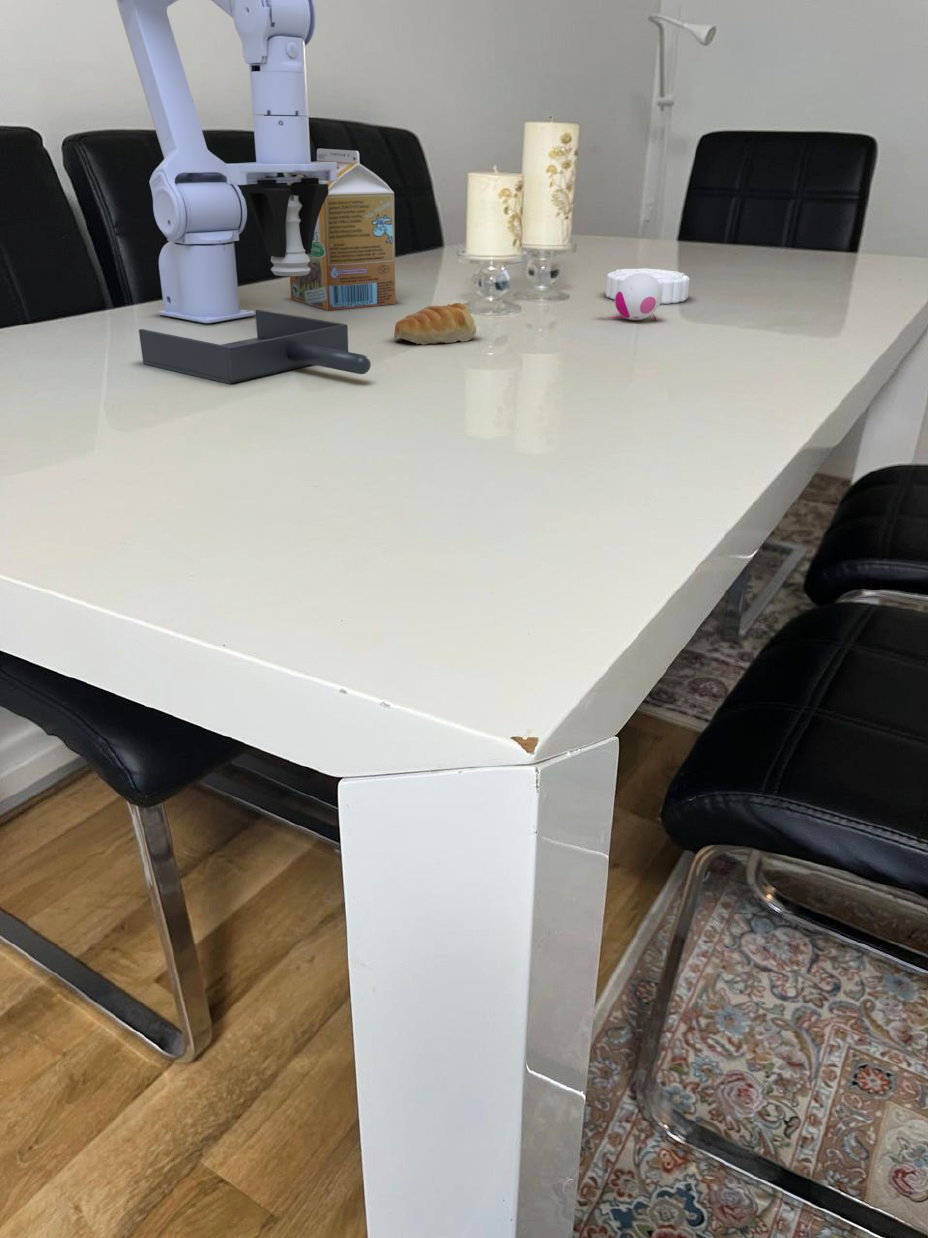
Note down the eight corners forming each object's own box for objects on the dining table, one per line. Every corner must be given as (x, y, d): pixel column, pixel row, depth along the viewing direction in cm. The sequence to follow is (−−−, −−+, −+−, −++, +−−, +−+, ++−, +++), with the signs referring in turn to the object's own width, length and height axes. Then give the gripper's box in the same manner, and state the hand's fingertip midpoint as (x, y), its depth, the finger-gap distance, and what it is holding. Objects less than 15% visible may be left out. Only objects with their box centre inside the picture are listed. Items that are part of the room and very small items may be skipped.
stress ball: (617, 339, 130) (592, 296, 128) (669, 305, 128) (645, 261, 126) (621, 348, 123) (595, 303, 121) (677, 313, 121) (651, 266, 119)
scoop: (142, 363, 98) (138, 329, 96) (260, 340, 109) (258, 309, 108) (308, 402, 85) (306, 363, 84) (421, 371, 97) (421, 336, 95)
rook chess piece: (272, 270, 109) (267, 193, 105) (312, 271, 110) (308, 194, 106) (269, 276, 105) (263, 196, 101) (310, 276, 106) (306, 197, 102)
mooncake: (674, 291, 148) (677, 266, 146) (697, 304, 137) (700, 278, 135) (597, 290, 147) (599, 266, 145) (614, 304, 136) (617, 277, 134)
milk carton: (291, 299, 135) (282, 148, 126) (356, 293, 140) (351, 148, 132) (328, 310, 127) (321, 150, 119) (395, 303, 133) (393, 150, 124)
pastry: (415, 349, 106) (415, 313, 105) (381, 339, 111) (380, 305, 109) (481, 339, 112) (481, 305, 110) (445, 330, 116) (445, 297, 115)
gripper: (255, 114, 93) (266, 263, 99) (356, 117, 103) (360, 252, 110) (206, 114, 97) (220, 257, 103) (308, 116, 107) (315, 247, 113)
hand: (289, 254), depth 106 cm, fingers closed on rook chess piece, 3 cm apart
